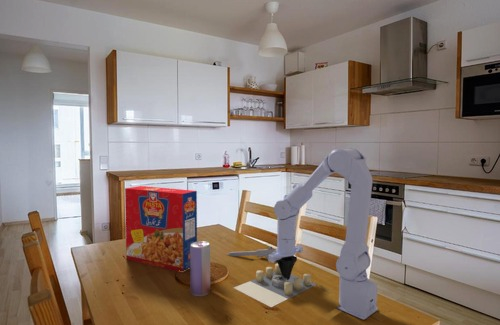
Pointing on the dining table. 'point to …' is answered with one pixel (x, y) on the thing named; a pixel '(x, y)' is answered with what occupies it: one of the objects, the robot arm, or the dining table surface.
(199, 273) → the beverage can
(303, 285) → the board
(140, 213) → the pasta box
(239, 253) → the caliper
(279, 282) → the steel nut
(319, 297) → the dining table surface
